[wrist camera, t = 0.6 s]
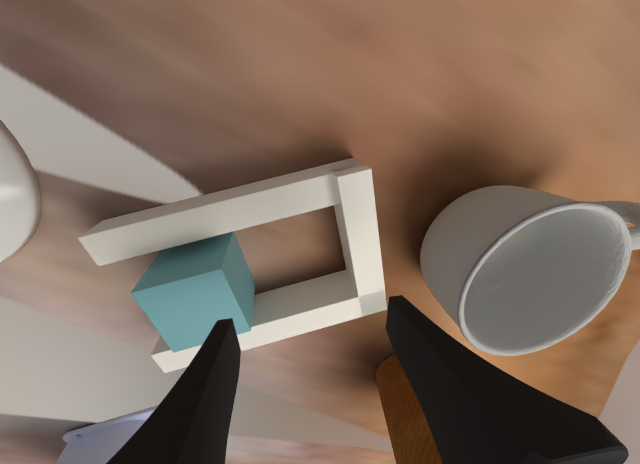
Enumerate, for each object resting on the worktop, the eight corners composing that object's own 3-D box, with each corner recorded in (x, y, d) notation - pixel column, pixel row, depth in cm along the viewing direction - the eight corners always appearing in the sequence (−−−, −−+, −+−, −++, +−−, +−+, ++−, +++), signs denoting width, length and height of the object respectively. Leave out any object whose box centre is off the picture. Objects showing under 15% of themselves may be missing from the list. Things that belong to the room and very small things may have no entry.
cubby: (179, 335, 22) (164, 373, 19) (102, 220, 17) (64, 246, 14) (371, 281, 23) (387, 309, 20) (353, 157, 18) (371, 168, 15)
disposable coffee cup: (446, 331, 28) (556, 473, 17) (435, 386, 32) (516, 527, 21) (360, 348, 26) (420, 511, 16) (360, 403, 31) (407, 560, 20)
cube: (194, 299, 21) (173, 352, 16) (164, 247, 18) (130, 293, 14) (255, 283, 21) (250, 330, 17) (233, 229, 19) (221, 268, 14)
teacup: (408, 298, 25) (464, 377, 18) (394, 194, 20) (464, 246, 12) (544, 253, 25) (653, 312, 18) (565, 140, 20) (727, 159, 13)
